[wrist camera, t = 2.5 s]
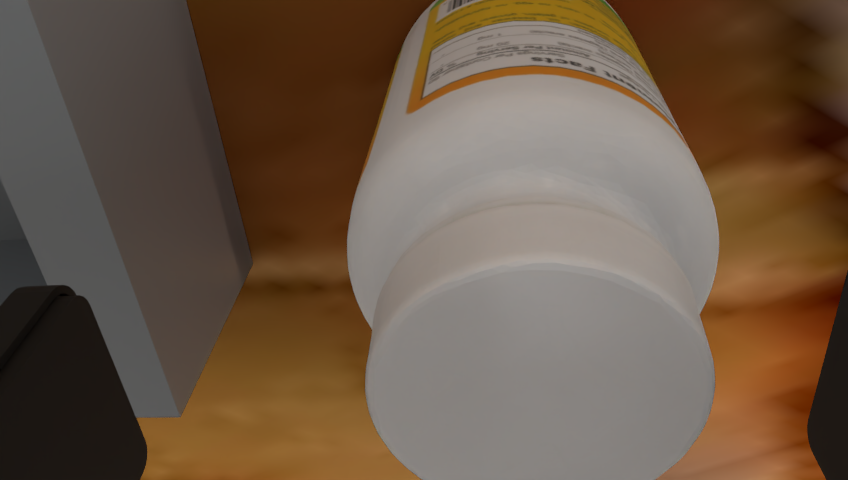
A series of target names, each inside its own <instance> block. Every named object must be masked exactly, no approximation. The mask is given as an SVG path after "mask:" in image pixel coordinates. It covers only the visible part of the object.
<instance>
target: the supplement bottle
mask: <svg viewBox="0 0 848 480" xmlns="http://www.w3.org/2000/svg"><path fill="white" fill-rule="evenodd" d="M718 255H719V232H718V223H717V217H716V211H715V207H714V204H713V201H712V198H711V194H710V191H709V188H708V186H707V184H706V182H705V179H704V177H703V175H702V173H701V171H700V169H699V166H698V164H697V162H696V160H695V158H694V156H693V154H692V152H691V150H690V149H689V147H688V145H687V143H686V141H685V139H684V137H683V135H682V133H681V132H680V130H679V128H678V126H677V124H676V122H675V120H674V118H673V116H672V114H671V112H670V110H669V108H668V106H667V105H666V103H665V101H664V99H663V97H662V95H661V93H660V91H659V89H658V87H657V85H656V83H655V81H654V79H653V77H652V75H651V73H650V71H649V69H648V67H647V65H646V63H645V61H644V59H643V57H642V55H641V53H640V51H639V49H638V47H637V45H636V43H635V41H634V39H633V37H632V35H631V34H630V32H629V31H628V29H627V27H626V26H625V24H624V23H623V21H622V20H621V18H620V17H619V16H618V14H617V13H616V12H615V11H614V9H613V8H612V7H611V6H610V5H609V4H608V3H607V2H606V1H605V0H435V1H434V2H433V3H432V4H431V5H430V6H429V7H428V8H427V9H426V10H425V11H424V12H423V13H422V14H421V16H420V17H419V18H418V20H417V21H416V22H415V24H414V25H413V27H412V28H411V30H410V31H409V33H408V35H407V37H406V39H405V41H404V43H403V45H402V48H401V50H400V53H399V55H398V57H397V61H396V64H395V67H394V71H393V74H392V77H391V80H390V84H389V87H388V90H387V93H386V97H385V100H384V104H383V107H382V110H381V113H380V116H379V119H378V123H377V126H376V129H375V132H374V135H373V138H372V141H371V144H370V148H369V151H368V154H367V157H366V160H365V163H364V166H363V169H362V173H361V176H360V179H359V182H358V186H357V189H356V193H355V197H354V201H353V205H352V210H351V216H350V221H349V228H348V235H347V260H348V270H349V276H350V280H351V284H352V288H353V292H354V294H355V297H356V300H357V303H358V305H359V307H360V309H361V311H362V313H363V315H364V317H365V319H366V321H367V322H368V324H369V326H370V327H371V329H372V336H371V342H370V348H369V354H368V360H367V366H366V375H365V392H366V400H367V405H368V409H369V413H370V416H371V418H372V421H373V424H374V426H375V428H376V430H377V432H378V434H379V436H380V437H381V439H382V440H383V442H384V443H385V444H386V446H387V447H388V449H389V450H390V451H391V453H392V454H393V455H394V456H395V457H396V458H397V459H398V460H399V461H400V462H401V463H402V464H403V465H404V466H405V467H406V468H408V469H409V470H410V471H411V472H412V473H414V474H415V475H417V476H418V477H419V478H421V479H422V480H655V479H656V478H658V477H659V476H660V475H662V474H663V473H664V472H666V471H667V470H668V469H670V468H671V467H672V466H674V465H675V464H676V463H677V462H678V461H679V460H680V459H681V458H682V457H683V456H684V455H685V454H686V453H687V451H688V450H689V449H690V447H691V446H692V445H693V443H694V442H695V440H696V439H697V438H698V436H699V435H700V433H701V432H702V430H703V428H704V426H705V424H706V422H707V419H708V416H709V414H710V411H711V407H712V403H713V397H714V391H715V372H714V362H713V358H712V355H711V351H710V348H709V344H708V341H707V337H706V334H705V331H704V328H703V324H702V321H701V318H700V315H699V314H700V312H701V311H702V309H703V307H704V305H705V303H706V301H707V298H708V296H709V294H710V291H711V289H712V285H713V282H714V278H715V274H716V269H717V262H718Z"/></svg>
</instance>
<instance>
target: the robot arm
mask: <svg viewBox="0 0 848 480" xmlns="http://www.w3.org/2000/svg"><path fill="white" fill-rule="evenodd" d="M807 430H808V439H809V443H810V447H811V450H812V452H813V454H814V456H815V458H816V460H817V462H818V464H819V466H820V468H821V470H822V472H823V474H824V476H825V478H826V480H848V272H847V275H846V279H845V283H844V287H843V291H842V294H841V298H840V302H839V306H838V309H837V313H836V317H835V321H834V325H833V328H832V332H831V336H830V340H829V343H828V347H827V351H826V355H825V359H824V362H823V366H822V370H821V374H820V377H819V381H818V385H817V389H816V393H815V396H814V400H813V404H812V408H811V411H810V415H809V419H808V425H807ZM146 460H147V445H146V442H145V438H144V436H143V434H142V431H141V429H140V426H139V424H138V421H137V419H136V416H135V414H134V411H133V409H132V407H131V404H130V402H129V399H128V397H127V394H126V392H125V389H124V387H123V384H122V382H121V380H120V377H119V375H118V372H117V370H116V367H115V365H114V362H113V360H112V357H111V355H110V353H109V350H108V348H107V345H106V343H105V340H104V338H103V335H102V333H101V330H100V328H99V326H98V323H97V321H96V318H95V316H94V313H93V311H92V308H91V306H90V304H89V302H88V300H87V299H86V298H85V297H84V296H80V295H76V293H75V292H74V290H73V289H71V288H70V287H69V286H66V285H47V286H26V287H20V288H17V289H15V290H14V291H13V292H12V293H11V294H10V295H9V296H8V297H7V299H6V300H5V301H4V302H3V303H2V304H1V306H0V480H140V478H141V476H142V474H143V471H144V469H145V466H146Z"/></svg>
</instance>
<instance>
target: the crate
mask: <svg viewBox="0 0 848 480" xmlns="http://www.w3.org/2000/svg"><path fill="white" fill-rule="evenodd" d="M252 265H253V262H252V258H251V254H250V250H249V246H248V242H247V238H246V234H245V230H244V226H243V222H242V218H241V214H240V210H239V206H238V203H237V199H236V195H235V191H234V187H233V183H232V179H231V175H230V171H229V167H228V163H227V159H226V155H225V151H224V147H223V144H222V140H221V136H220V132H219V128H218V124H217V120H216V116H215V112H214V108H213V104H212V100H211V96H210V92H209V88H208V85H207V81H206V77H205V73H204V69H203V65H202V61H201V57H200V53H199V49H198V45H197V41H196V37H195V33H194V29H193V26H192V22H191V18H190V14H189V10H188V6H187V2H186V0H0V306H1V304H2V303H3V302H4V301H5V300H6V299H7V297H8V296H9V295H10V294H11V293H12V292H13V291H14V290H15V289H17V288H20V287H26V286H47V285H66V286H69V287H70V288H71V289H73V290H74V292H75V293H76V295H80V296H84V297H85V298H86V299H87V300H88V302H89V304H90V306H91V308H92V311H93V313H94V316H95V318H96V321H97V323H98V326H99V328H100V330H101V333H102V335H103V338H104V340H105V343H106V345H107V348H108V350H109V353H110V355H111V357H112V360H113V362H114V365H115V367H116V370H117V372H118V375H119V377H120V380H121V382H122V384H123V387H124V389H125V392H126V394H127V397H128V399H129V402H130V404H131V407H132V409H133V411H134V414H135V416H136V417H181V415H182V413H183V411H184V408H185V406H186V404H187V402H188V400H189V398H190V396H191V394H192V392H193V389H194V387H195V385H196V383H197V381H198V379H199V377H200V375H201V373H202V370H203V368H204V366H205V364H206V362H207V360H208V358H209V356H210V353H211V351H212V349H213V347H214V345H215V343H216V341H217V339H218V337H219V334H220V332H221V330H222V328H223V326H224V324H225V322H226V320H227V318H228V315H229V313H230V311H231V309H232V307H233V305H234V303H235V301H236V298H237V296H238V294H239V292H240V290H241V288H242V286H243V284H244V282H245V279H246V277H247V275H248V273H249V271H250V269H251V267H252Z"/></svg>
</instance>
